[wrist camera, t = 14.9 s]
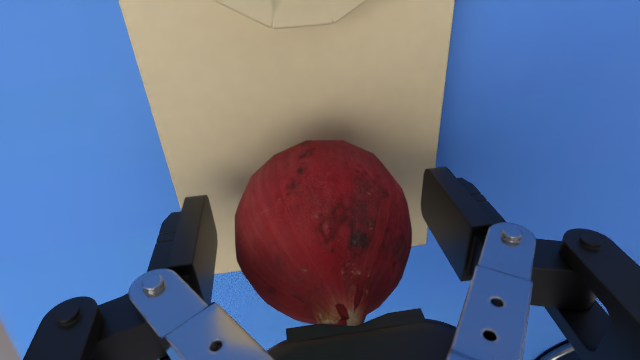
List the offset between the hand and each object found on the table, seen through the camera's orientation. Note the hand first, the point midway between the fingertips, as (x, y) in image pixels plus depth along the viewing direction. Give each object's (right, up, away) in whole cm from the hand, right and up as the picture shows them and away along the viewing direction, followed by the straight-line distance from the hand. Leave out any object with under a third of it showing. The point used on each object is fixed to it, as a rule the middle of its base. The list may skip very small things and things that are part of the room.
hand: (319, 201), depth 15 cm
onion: (0, +1, +2) cm, 2 cm away
